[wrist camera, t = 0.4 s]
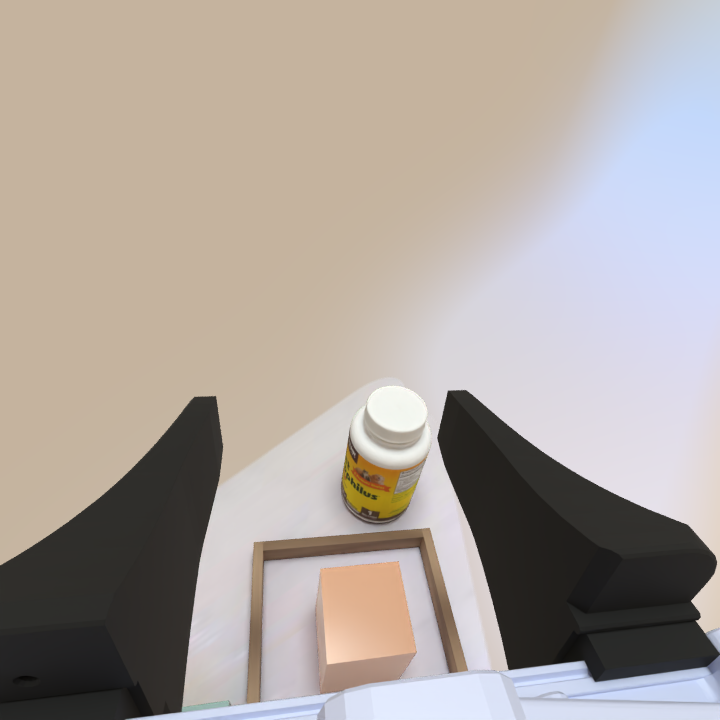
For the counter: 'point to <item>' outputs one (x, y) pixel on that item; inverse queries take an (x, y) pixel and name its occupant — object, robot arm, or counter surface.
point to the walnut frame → (352, 545)
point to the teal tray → (206, 706)
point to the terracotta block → (362, 626)
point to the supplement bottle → (385, 454)
